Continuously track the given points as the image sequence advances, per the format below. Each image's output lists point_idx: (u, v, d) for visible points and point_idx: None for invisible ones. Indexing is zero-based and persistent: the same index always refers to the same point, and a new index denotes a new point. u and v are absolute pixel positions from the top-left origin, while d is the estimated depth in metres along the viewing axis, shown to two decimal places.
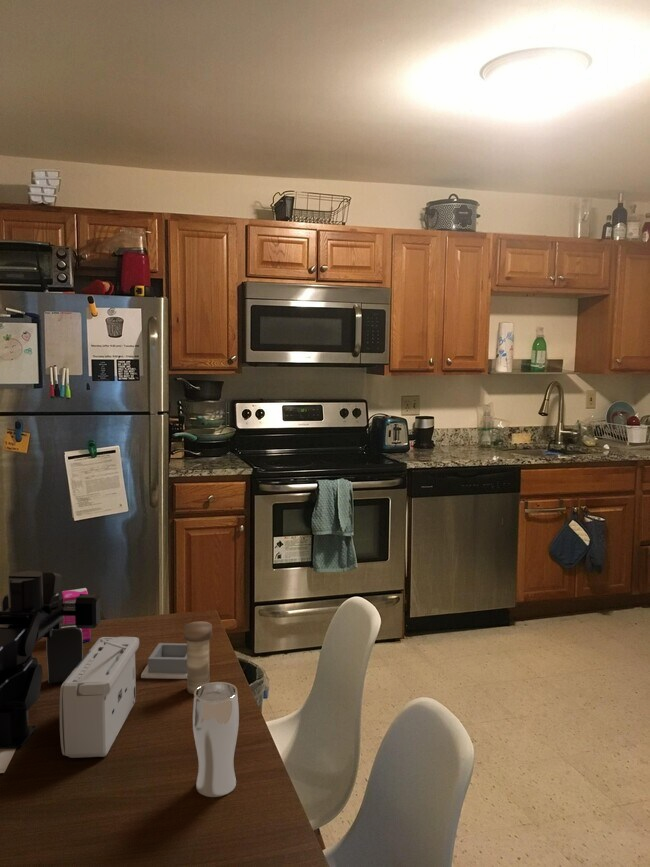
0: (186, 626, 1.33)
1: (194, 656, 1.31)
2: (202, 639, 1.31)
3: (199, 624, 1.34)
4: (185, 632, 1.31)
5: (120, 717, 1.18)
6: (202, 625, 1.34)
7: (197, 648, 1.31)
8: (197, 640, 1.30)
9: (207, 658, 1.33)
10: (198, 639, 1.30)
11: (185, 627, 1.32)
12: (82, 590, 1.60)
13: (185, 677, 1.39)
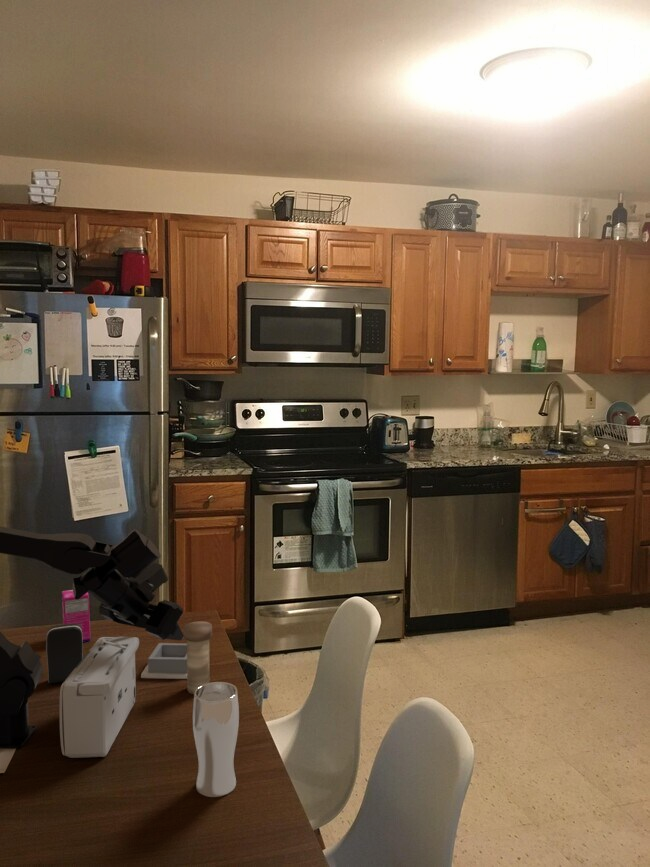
0: (186, 626, 1.33)
1: (194, 656, 1.31)
2: (202, 639, 1.31)
3: (199, 624, 1.34)
4: (185, 632, 1.31)
5: (120, 717, 1.18)
6: (202, 625, 1.34)
7: (197, 648, 1.31)
8: (197, 640, 1.30)
9: (207, 658, 1.33)
10: (198, 639, 1.31)
11: (185, 627, 1.33)
12: None
13: (185, 677, 1.39)
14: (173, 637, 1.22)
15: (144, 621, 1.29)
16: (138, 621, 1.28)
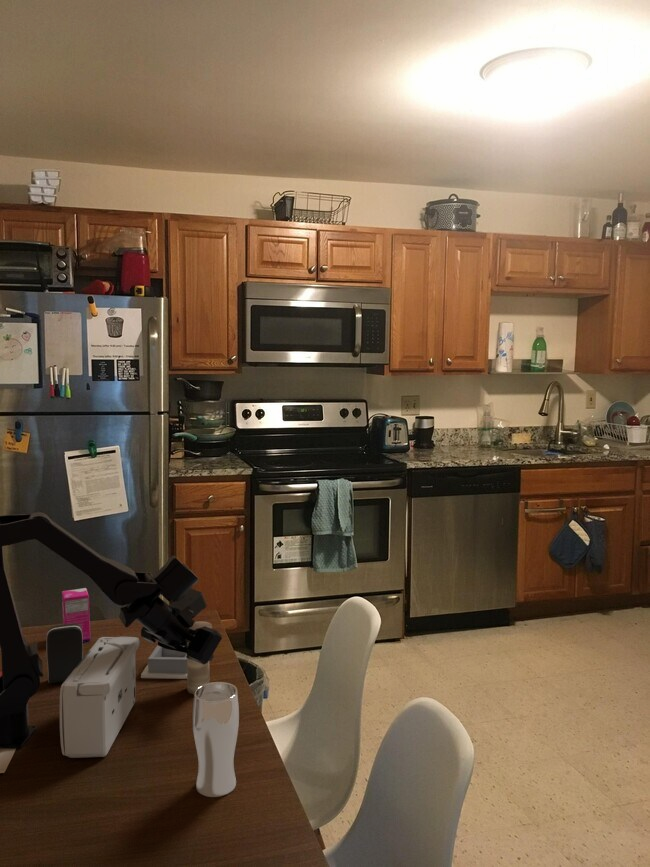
0: None
1: None
2: None
3: (199, 624, 1.34)
4: None
5: (120, 717, 1.18)
6: (202, 625, 1.34)
7: None
8: None
9: None
10: None
11: None
12: (82, 590, 1.60)
13: (185, 677, 1.39)
14: None
15: None
16: (183, 646, 1.34)
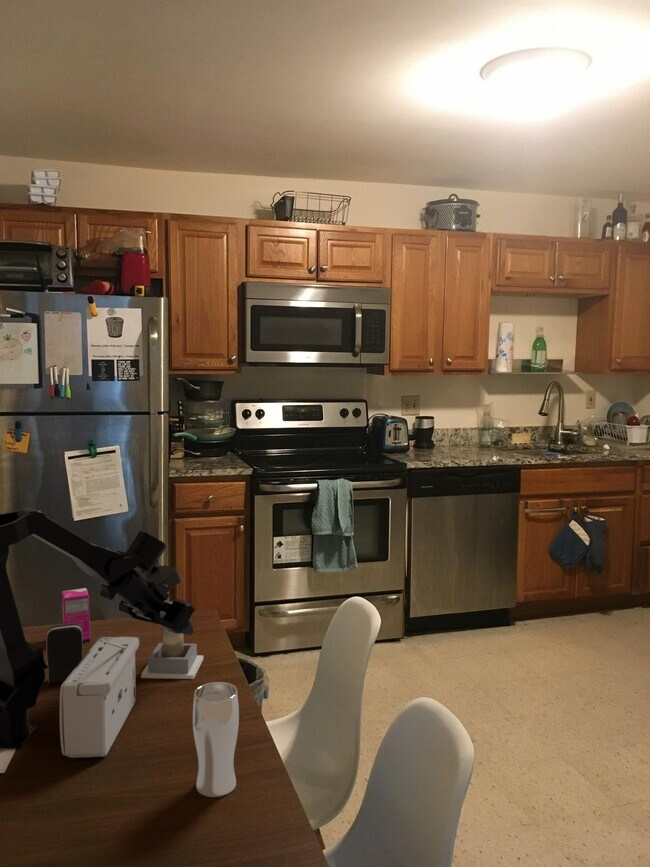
0: None
1: (169, 633, 1.41)
2: None
3: None
4: None
5: (120, 717, 1.18)
6: None
7: None
8: None
9: (181, 635, 1.42)
10: None
11: None
12: (82, 590, 1.60)
13: (185, 677, 1.39)
14: (185, 632, 1.39)
15: (158, 617, 1.46)
16: (153, 617, 1.45)
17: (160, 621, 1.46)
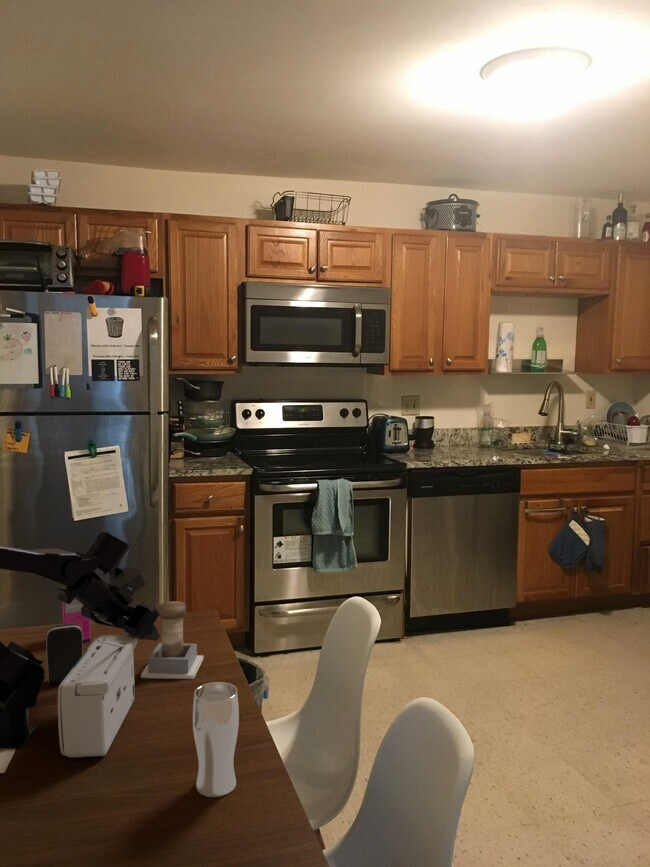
0: (161, 605, 1.43)
1: (168, 632, 1.41)
2: (176, 617, 1.40)
3: (174, 604, 1.44)
4: (160, 610, 1.41)
5: (119, 715, 1.18)
6: (176, 604, 1.43)
7: (172, 626, 1.41)
8: (171, 618, 1.40)
9: (181, 635, 1.42)
10: (172, 617, 1.40)
11: (160, 606, 1.42)
12: None
13: (185, 677, 1.39)
14: (150, 637, 1.31)
15: (123, 622, 1.38)
16: (118, 622, 1.37)
17: None
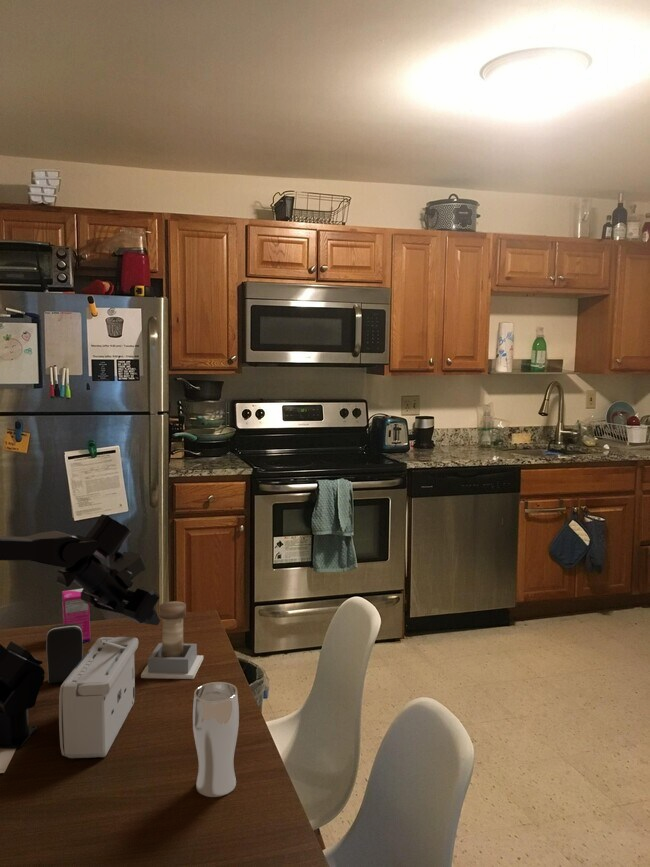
0: (161, 605, 1.43)
1: (169, 633, 1.41)
2: (176, 617, 1.40)
3: (174, 604, 1.43)
4: (160, 611, 1.41)
5: (119, 717, 1.18)
6: (176, 604, 1.43)
7: (172, 626, 1.41)
8: (172, 618, 1.40)
9: (181, 635, 1.42)
10: (173, 617, 1.40)
11: (160, 606, 1.42)
12: None
13: (185, 677, 1.39)
14: (150, 622, 1.30)
15: (123, 607, 1.37)
16: (117, 607, 1.36)
17: None
